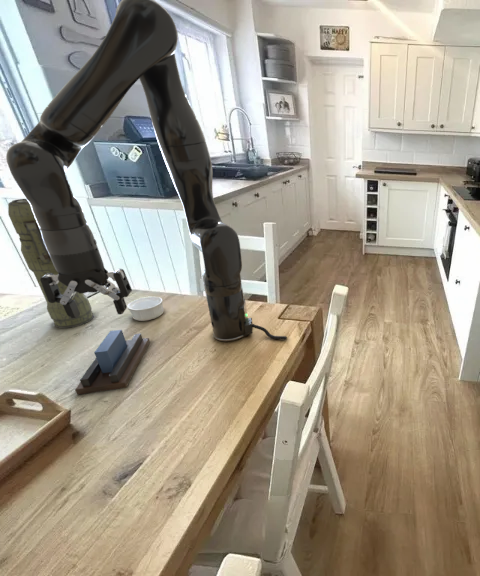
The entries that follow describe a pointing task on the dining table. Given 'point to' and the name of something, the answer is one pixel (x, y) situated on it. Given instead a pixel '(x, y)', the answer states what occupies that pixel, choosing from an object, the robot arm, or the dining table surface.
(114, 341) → the back pad
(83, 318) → the olive green tall column
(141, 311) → the ramekin
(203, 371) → the dining table surface
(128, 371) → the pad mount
